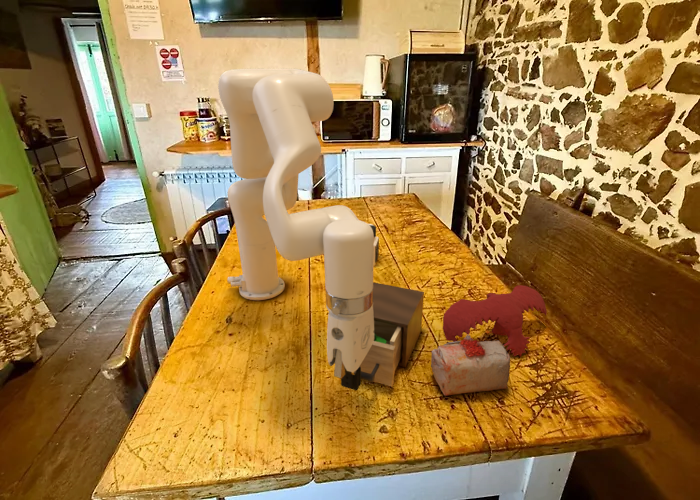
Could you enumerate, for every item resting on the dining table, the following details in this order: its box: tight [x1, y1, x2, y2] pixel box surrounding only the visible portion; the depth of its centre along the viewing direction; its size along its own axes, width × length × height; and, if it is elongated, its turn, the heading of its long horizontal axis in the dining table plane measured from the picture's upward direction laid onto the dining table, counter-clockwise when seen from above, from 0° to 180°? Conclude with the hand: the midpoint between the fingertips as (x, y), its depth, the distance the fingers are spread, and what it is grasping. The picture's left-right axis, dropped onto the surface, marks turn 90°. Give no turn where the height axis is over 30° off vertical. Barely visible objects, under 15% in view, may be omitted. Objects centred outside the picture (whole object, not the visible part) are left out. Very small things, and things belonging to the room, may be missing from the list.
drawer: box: [359, 321, 404, 387], centre depth 79 cm, size 17×11×9 cm
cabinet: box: [373, 281, 425, 368], centre depth 88 cm, size 14×13×11 cm
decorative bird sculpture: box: [442, 284, 548, 358], centre depth 88 cm, size 28×9×15 cm
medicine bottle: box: [368, 223, 380, 267], centre depth 125 cm, size 7×7×12 cm
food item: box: [430, 333, 511, 397], centre depth 75 cm, size 14×8×10 cm, turn 97°
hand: (350, 385), depth 70 cm, fingers closed
